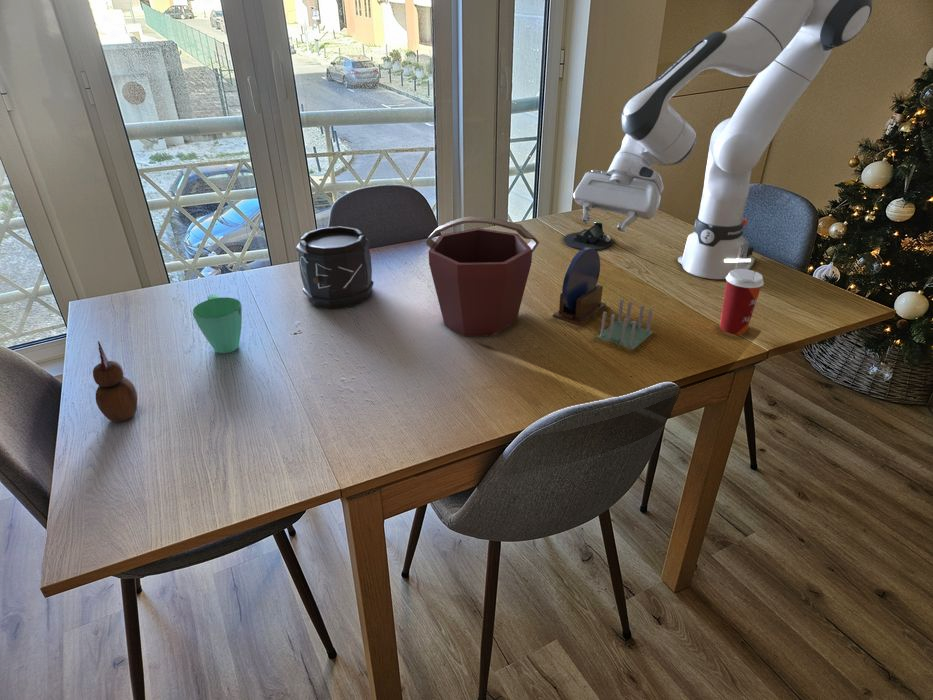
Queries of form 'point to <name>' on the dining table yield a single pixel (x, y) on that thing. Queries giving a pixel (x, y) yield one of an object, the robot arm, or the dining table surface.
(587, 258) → the plate
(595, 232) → the dark blue round base
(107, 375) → the wooden figurine
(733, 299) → the paper cup
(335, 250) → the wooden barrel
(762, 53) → the robot arm
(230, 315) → the mug
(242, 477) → the dining table surface
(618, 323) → the dish rack
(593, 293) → the napkin holder
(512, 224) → the bucket
